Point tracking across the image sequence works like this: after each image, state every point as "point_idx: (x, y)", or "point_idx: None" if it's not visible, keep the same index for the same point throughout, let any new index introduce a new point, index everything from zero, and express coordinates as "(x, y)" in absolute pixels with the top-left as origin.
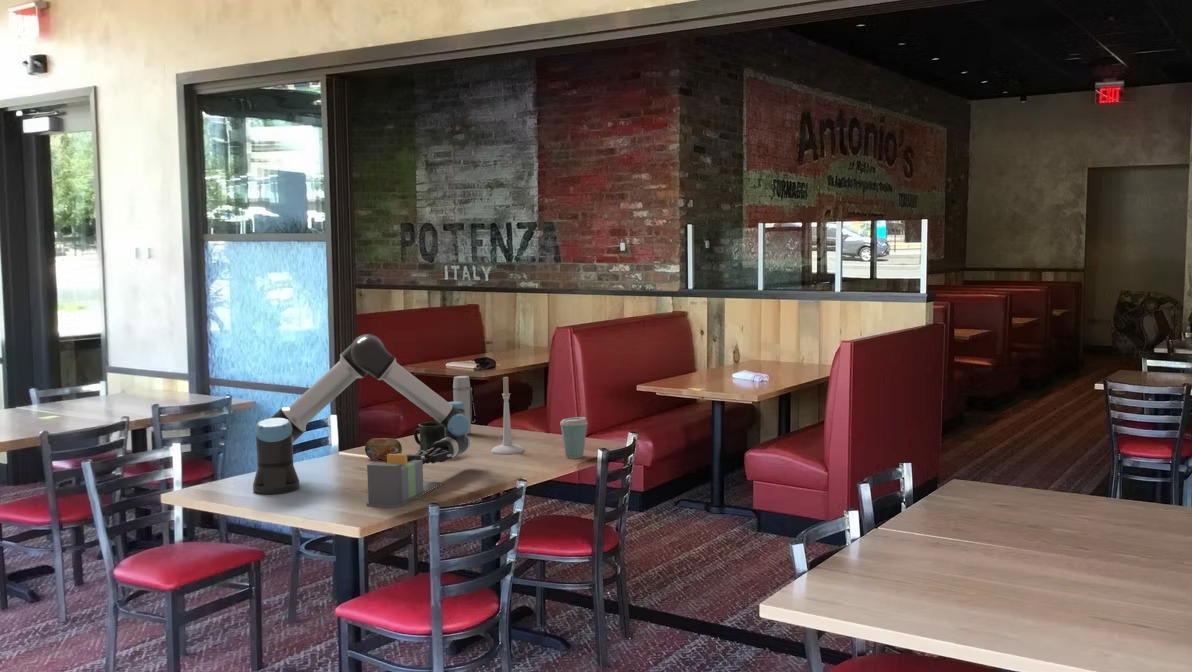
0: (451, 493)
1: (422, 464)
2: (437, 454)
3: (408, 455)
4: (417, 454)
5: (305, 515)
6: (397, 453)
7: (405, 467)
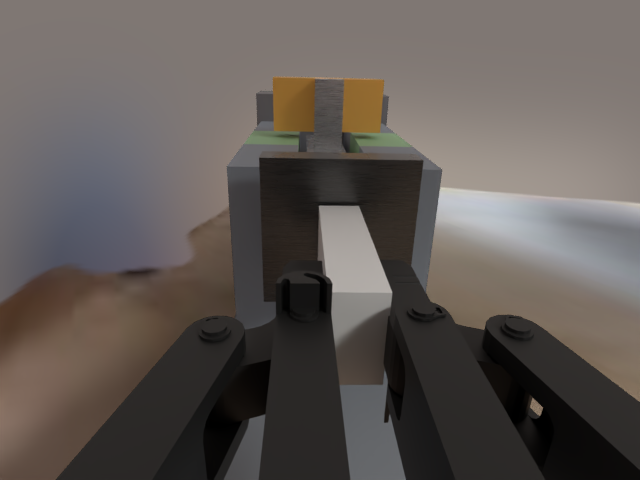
0: (42, 395)
1: (229, 197)
2: (141, 435)
3: (369, 153)
4: (545, 365)
5: (455, 194)
6: (341, 79)
7: (259, 128)
